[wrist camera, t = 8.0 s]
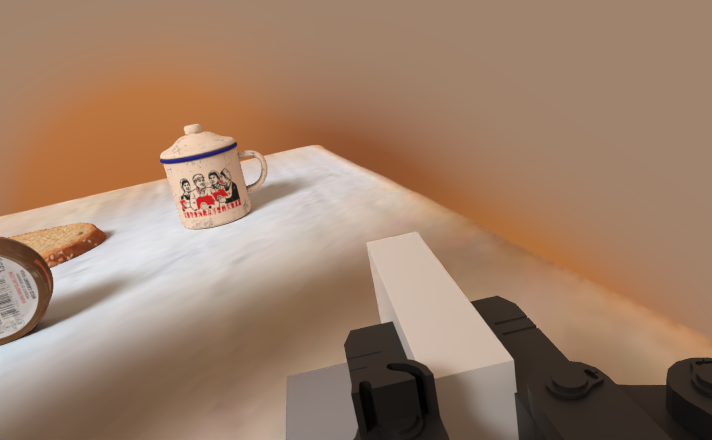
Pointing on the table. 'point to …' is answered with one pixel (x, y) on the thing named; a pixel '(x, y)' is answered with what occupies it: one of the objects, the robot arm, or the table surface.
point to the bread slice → (63, 241)
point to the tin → (22, 289)
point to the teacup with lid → (208, 178)
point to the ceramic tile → (321, 405)
